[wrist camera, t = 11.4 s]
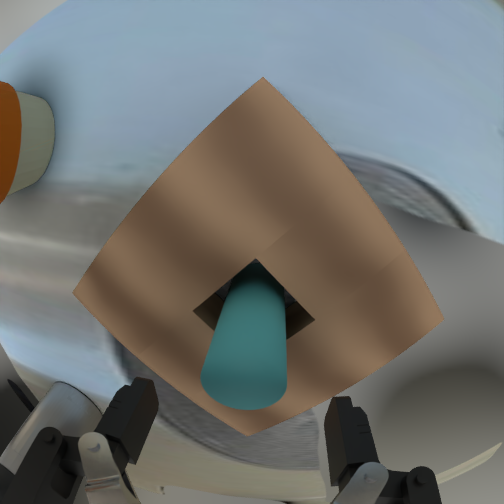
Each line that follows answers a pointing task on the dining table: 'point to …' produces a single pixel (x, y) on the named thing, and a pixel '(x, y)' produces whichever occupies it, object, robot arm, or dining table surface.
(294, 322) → the socket block
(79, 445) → the robot arm
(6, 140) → the reusable coffee cup
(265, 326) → the peg
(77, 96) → the dining table surface
